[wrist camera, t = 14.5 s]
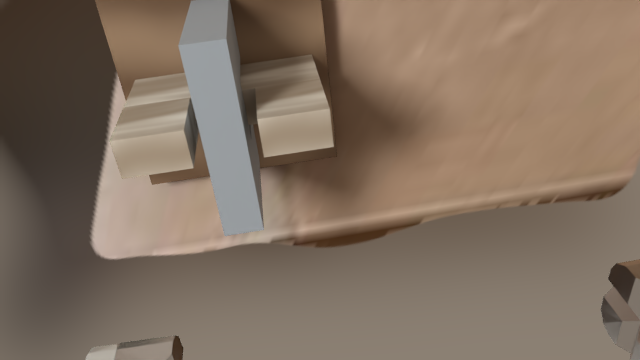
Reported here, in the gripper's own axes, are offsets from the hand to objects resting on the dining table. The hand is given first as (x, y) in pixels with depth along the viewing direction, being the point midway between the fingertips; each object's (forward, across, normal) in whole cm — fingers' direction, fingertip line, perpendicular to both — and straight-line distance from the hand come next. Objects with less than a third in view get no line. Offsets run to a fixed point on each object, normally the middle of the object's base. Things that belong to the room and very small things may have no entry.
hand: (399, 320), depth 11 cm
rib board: (+31, +5, +8) cm, 32 cm away
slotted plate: (+30, +5, +8) cm, 31 cm away
